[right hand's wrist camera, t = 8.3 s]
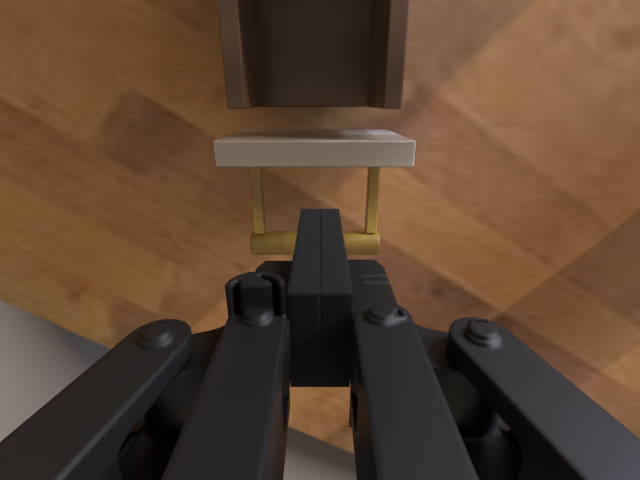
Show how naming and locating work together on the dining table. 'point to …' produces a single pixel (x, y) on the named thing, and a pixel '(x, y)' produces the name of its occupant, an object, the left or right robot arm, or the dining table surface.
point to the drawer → (314, 94)
